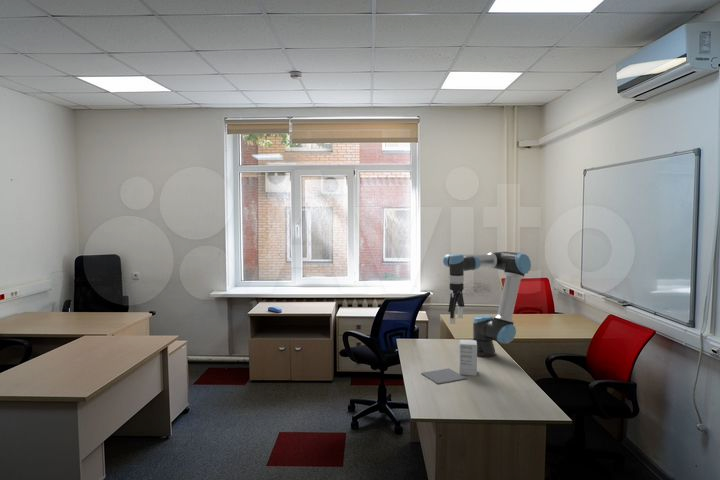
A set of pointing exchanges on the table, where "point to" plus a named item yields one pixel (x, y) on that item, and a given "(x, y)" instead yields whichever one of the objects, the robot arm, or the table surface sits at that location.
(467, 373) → the supplement box
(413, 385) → the table surface
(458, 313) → the robot arm
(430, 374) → the graphite mat
